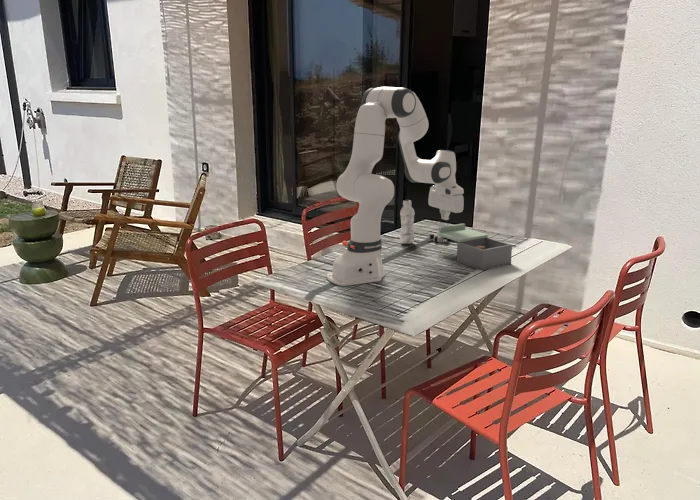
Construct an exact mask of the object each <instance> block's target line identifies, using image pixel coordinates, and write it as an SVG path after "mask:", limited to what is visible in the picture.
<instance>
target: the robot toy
mask: <svg viewBox="0 0 700 500" xmlns="http://www.w3.org/2000/svg"><path fill="white" fill-rule="evenodd" d="M437 232H439V229H438V230H437ZM437 232H436V233H435V234H434V233H433V234H429V235H427V236H426V239H428V240H429V239H430V240H432V239H433V242H437V243H441V242H442V243H447V242H448V241H449V239H448V238H445V237H442V236H439V235H437Z"/></svg>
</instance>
